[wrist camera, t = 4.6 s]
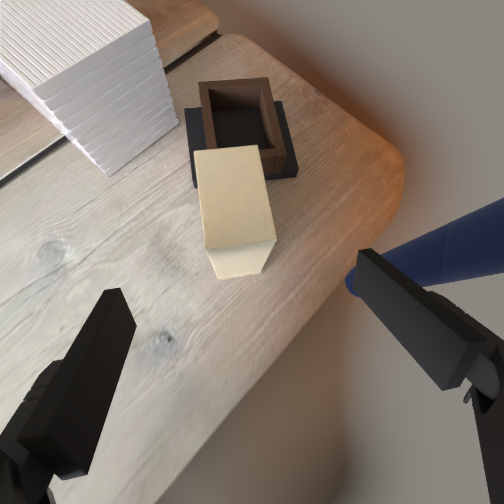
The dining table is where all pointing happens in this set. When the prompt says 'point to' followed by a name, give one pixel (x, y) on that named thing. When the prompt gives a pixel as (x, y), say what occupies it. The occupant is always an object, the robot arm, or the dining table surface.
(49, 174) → the dining table surface
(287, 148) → the square socket base
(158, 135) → the stack of papers
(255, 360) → the dining table surface
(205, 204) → the cream rectangular block
